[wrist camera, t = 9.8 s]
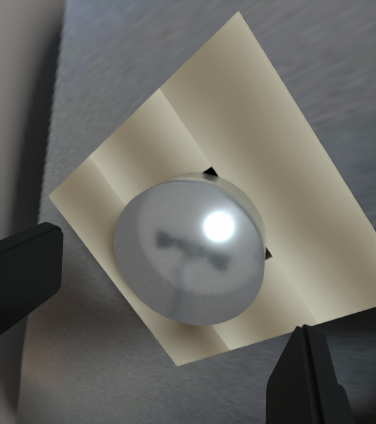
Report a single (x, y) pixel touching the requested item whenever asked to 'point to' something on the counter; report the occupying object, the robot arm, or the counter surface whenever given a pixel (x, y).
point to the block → (245, 180)
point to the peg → (192, 248)
